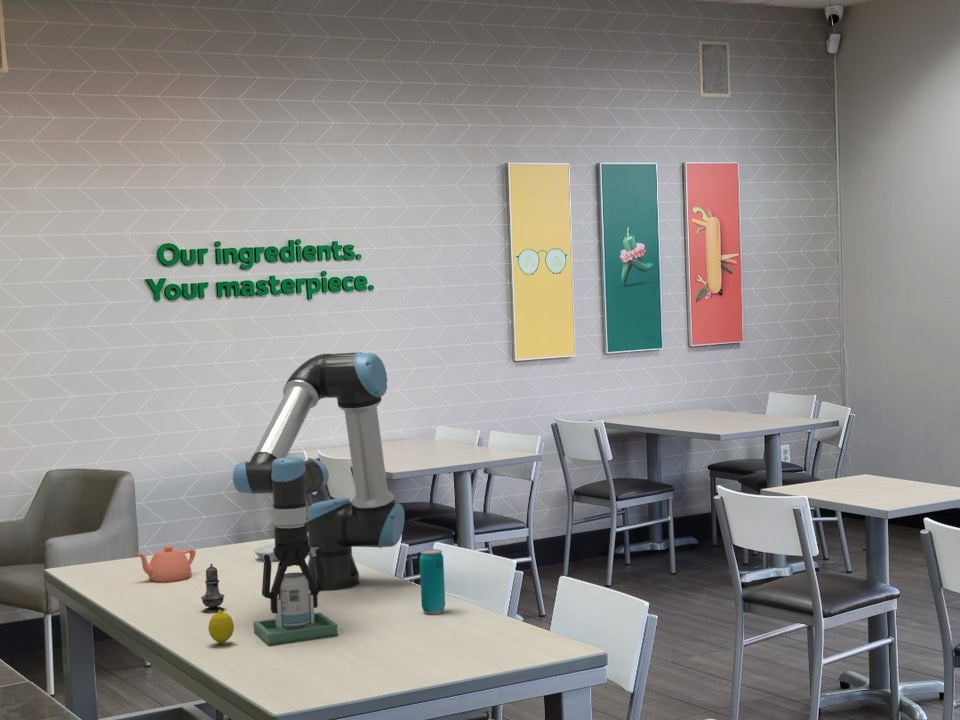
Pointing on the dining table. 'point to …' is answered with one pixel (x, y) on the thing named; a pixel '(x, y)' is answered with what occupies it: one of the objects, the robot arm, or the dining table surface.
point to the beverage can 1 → (294, 601)
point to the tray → (295, 631)
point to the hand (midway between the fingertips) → (295, 624)
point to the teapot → (168, 565)
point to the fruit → (221, 627)
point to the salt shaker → (212, 592)
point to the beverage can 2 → (432, 581)
